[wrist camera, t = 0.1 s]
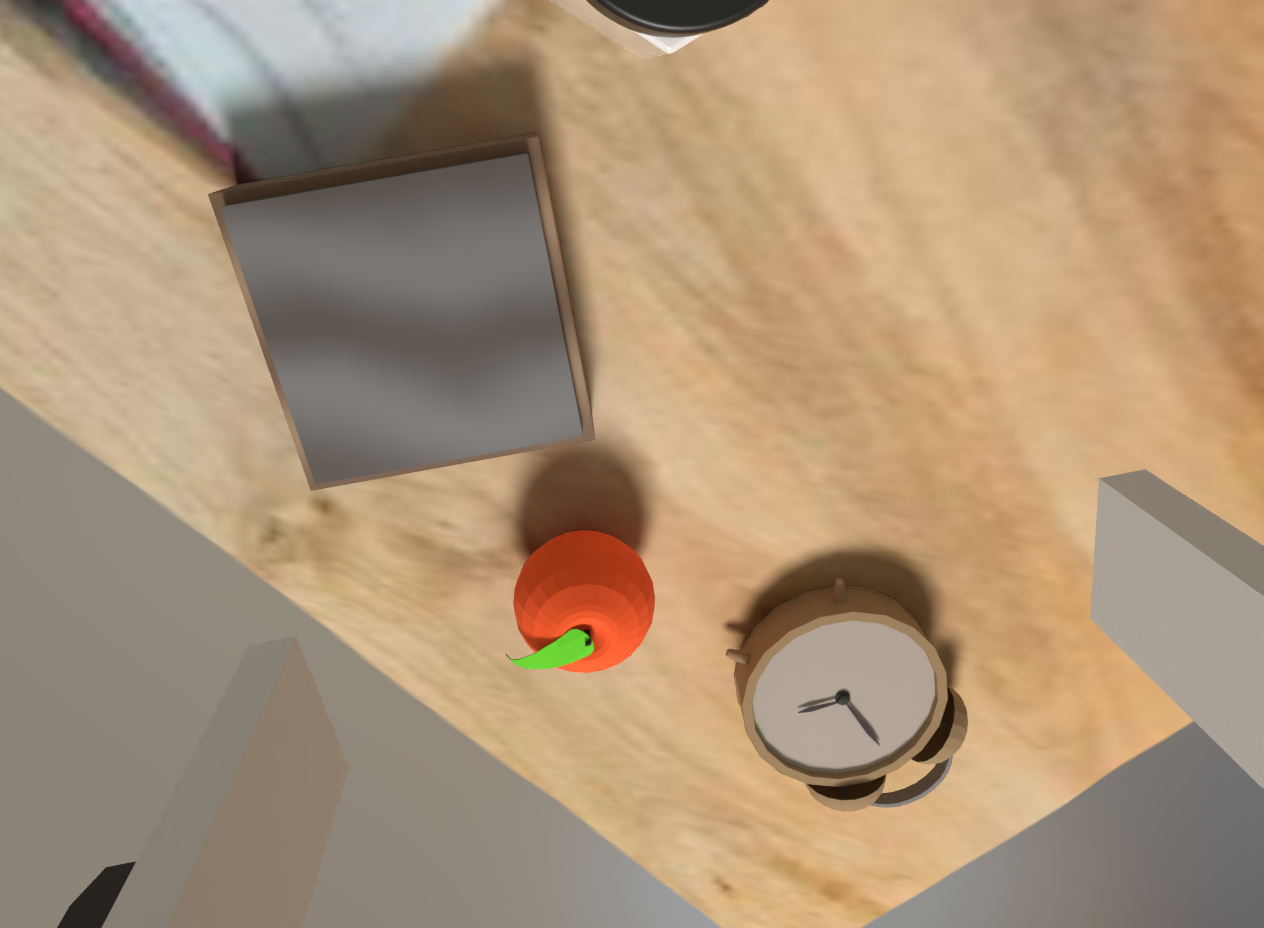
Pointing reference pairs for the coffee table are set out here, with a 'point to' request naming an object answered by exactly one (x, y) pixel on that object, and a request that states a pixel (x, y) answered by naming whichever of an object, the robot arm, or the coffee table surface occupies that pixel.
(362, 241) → the stand
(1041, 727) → the coffee table surface
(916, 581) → the coffee table surface
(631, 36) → the jar
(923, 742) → the alarm clock
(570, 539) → the clementine
